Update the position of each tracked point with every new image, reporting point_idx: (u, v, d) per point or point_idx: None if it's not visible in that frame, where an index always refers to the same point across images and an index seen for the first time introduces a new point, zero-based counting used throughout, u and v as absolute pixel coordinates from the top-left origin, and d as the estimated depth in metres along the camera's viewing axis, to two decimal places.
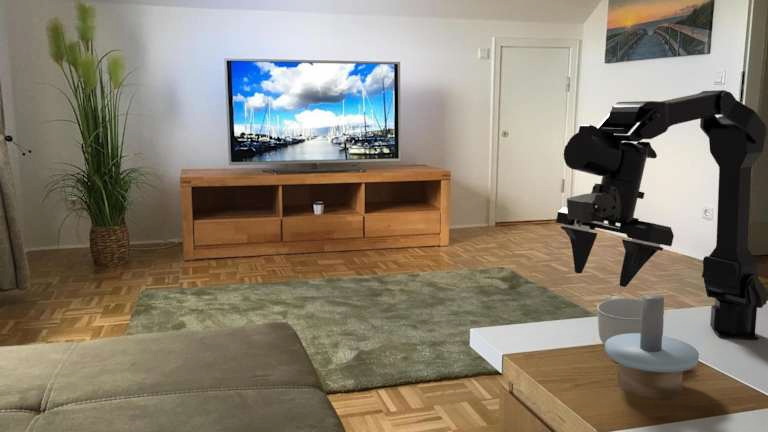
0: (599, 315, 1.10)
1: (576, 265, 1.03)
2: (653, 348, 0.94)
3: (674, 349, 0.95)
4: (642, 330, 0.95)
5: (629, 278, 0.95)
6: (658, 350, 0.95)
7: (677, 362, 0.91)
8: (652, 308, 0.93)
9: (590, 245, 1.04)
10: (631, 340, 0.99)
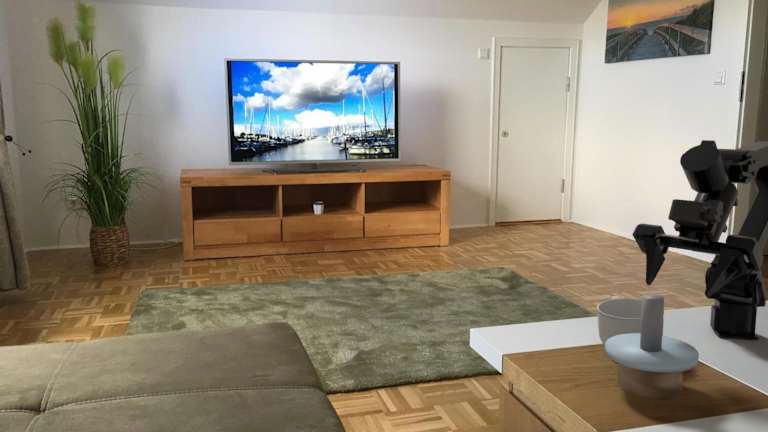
0: (599, 315, 1.10)
1: (649, 275, 1.03)
2: (653, 348, 0.94)
3: (674, 349, 0.95)
4: (642, 330, 0.95)
5: (714, 289, 0.96)
6: (658, 350, 0.95)
7: (677, 362, 0.91)
8: (652, 308, 0.93)
9: (660, 265, 1.06)
10: (631, 340, 0.99)
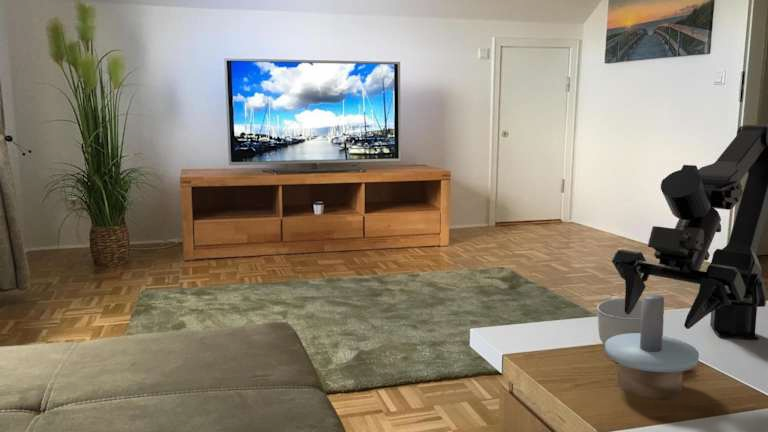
0: (599, 315, 1.10)
1: (628, 304, 0.99)
2: (653, 348, 0.94)
3: (674, 349, 0.95)
4: (642, 330, 0.95)
5: (694, 321, 0.93)
6: (658, 350, 0.95)
7: (677, 362, 0.91)
8: (652, 308, 0.93)
9: (639, 293, 1.02)
10: (631, 340, 0.99)
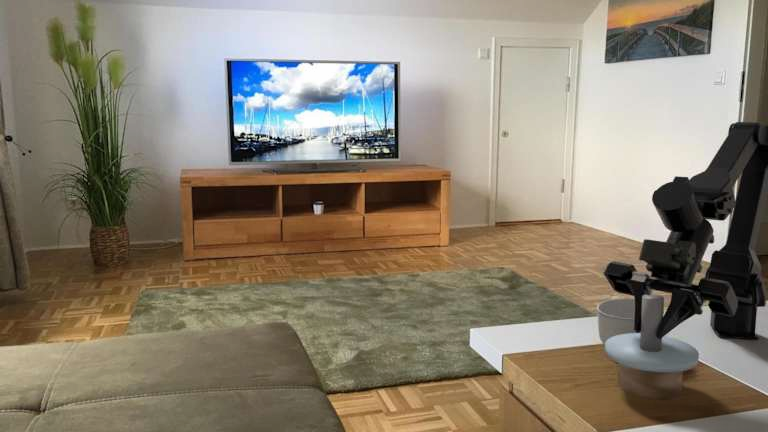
0: (599, 315, 1.10)
1: (637, 322, 0.96)
2: (653, 348, 0.94)
3: (674, 349, 0.95)
4: (642, 330, 0.95)
5: (666, 331, 0.94)
6: (658, 350, 0.95)
7: (677, 362, 0.91)
8: (652, 308, 0.93)
9: None
10: (631, 340, 0.99)
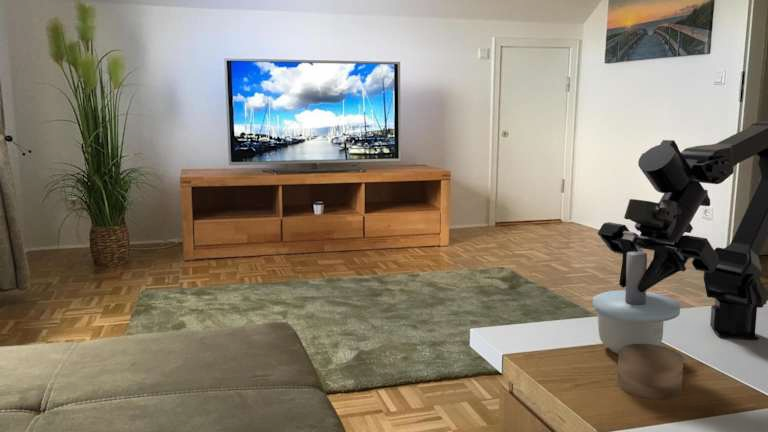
0: (599, 315, 1.10)
1: (623, 277, 1.02)
2: (635, 301, 1.00)
3: (658, 303, 1.01)
4: (626, 284, 1.01)
5: (648, 285, 0.99)
6: (641, 303, 1.00)
7: (654, 313, 0.96)
8: (634, 264, 0.99)
9: None
10: (620, 295, 1.05)
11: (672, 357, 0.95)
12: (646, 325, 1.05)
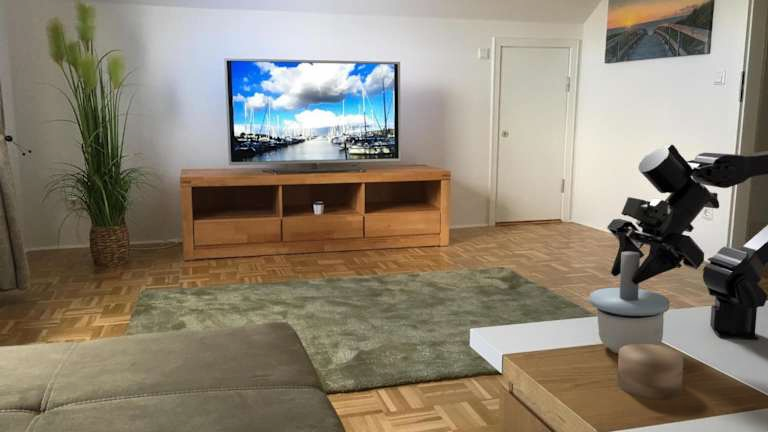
0: (599, 315, 1.10)
1: (614, 267, 1.12)
2: (626, 297, 1.10)
3: (649, 300, 1.09)
4: (620, 281, 1.11)
5: (641, 278, 1.07)
6: (631, 299, 1.09)
7: (637, 308, 1.06)
8: (625, 262, 1.09)
9: None
10: (620, 291, 1.15)
11: (672, 357, 0.95)
12: (646, 325, 1.05)
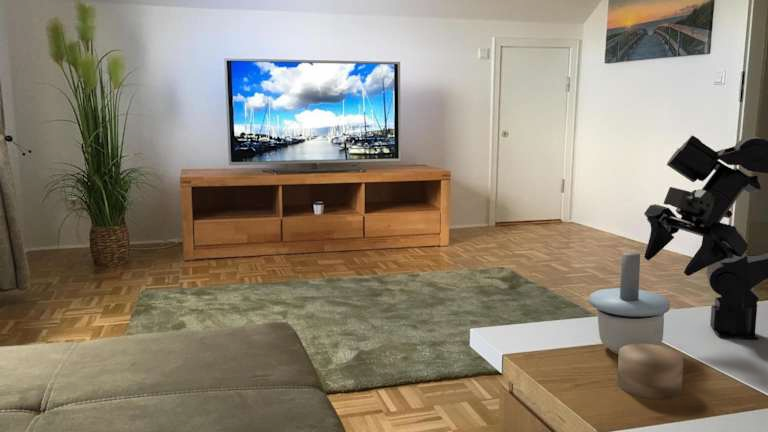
0: (599, 315, 1.10)
1: (648, 251, 1.17)
2: (626, 297, 1.09)
3: (649, 301, 1.09)
4: (620, 282, 1.11)
5: (694, 270, 1.09)
6: (632, 300, 1.09)
7: (637, 308, 1.05)
8: (626, 263, 1.09)
9: (665, 243, 1.18)
10: None
11: (672, 357, 0.95)
12: (646, 326, 1.05)
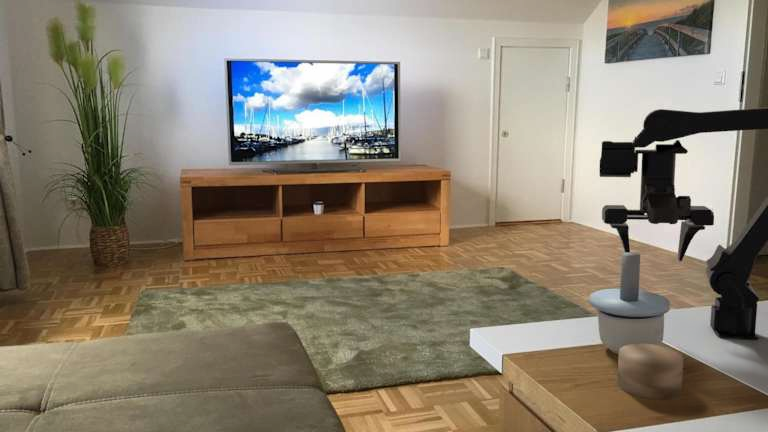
0: (599, 316, 1.10)
1: None
2: (627, 298, 1.09)
3: (649, 301, 1.09)
4: (620, 282, 1.10)
5: None
6: (632, 300, 1.09)
7: (637, 309, 1.05)
8: (626, 263, 1.08)
9: None
10: None
11: (672, 357, 0.95)
12: (647, 326, 1.04)
